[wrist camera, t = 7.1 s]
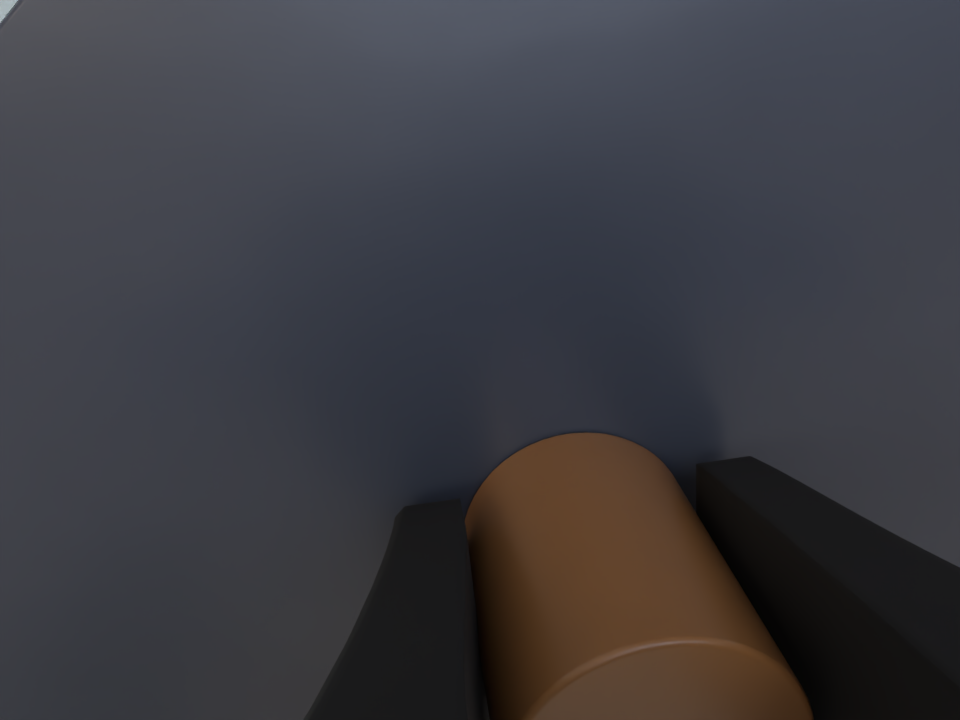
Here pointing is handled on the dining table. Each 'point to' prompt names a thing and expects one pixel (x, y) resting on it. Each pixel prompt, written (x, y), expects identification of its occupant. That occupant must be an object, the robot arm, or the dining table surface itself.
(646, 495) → the pan lid
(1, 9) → the dining table surface
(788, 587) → the robot arm
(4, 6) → the dining table surface
